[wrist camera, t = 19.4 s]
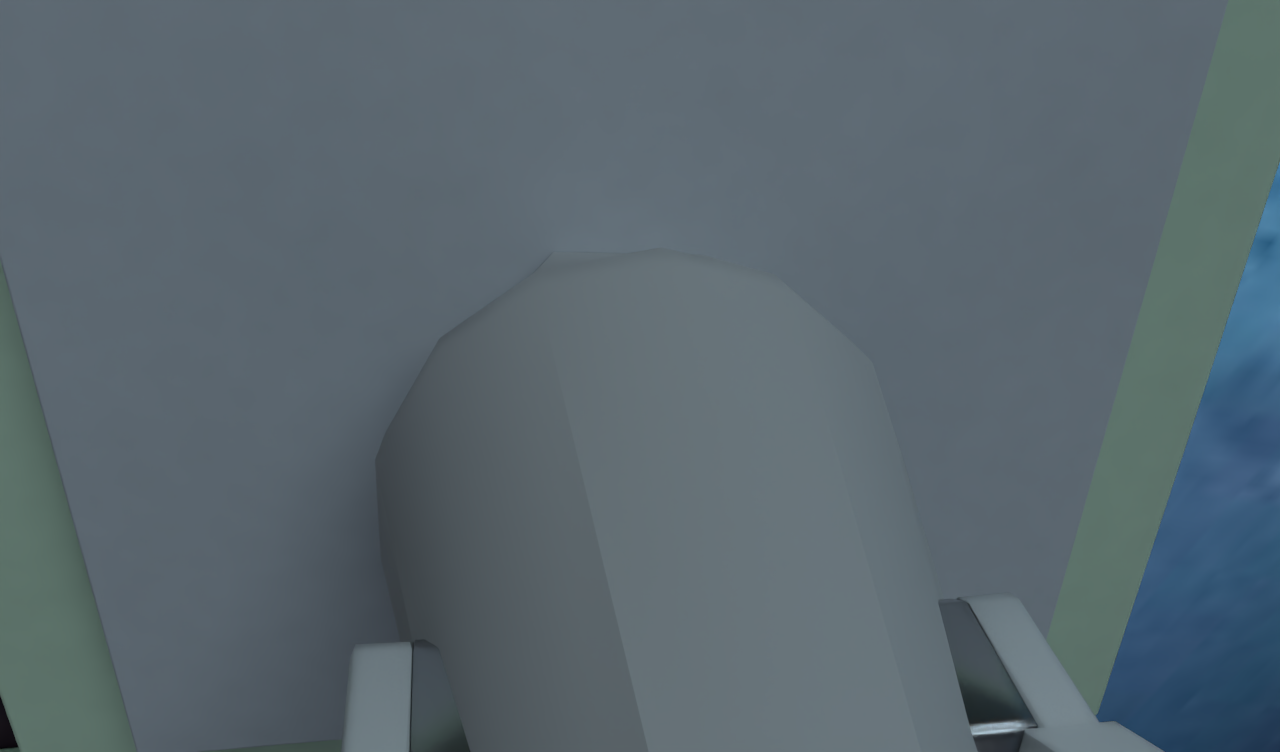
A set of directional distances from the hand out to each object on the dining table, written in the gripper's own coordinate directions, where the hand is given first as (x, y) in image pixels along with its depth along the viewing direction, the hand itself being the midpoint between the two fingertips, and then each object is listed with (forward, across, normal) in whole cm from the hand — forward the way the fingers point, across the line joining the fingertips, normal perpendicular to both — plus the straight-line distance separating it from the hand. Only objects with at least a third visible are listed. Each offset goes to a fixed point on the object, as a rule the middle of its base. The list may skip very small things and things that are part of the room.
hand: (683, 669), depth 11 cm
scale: (+9, 0, 0) cm, 9 cm away
